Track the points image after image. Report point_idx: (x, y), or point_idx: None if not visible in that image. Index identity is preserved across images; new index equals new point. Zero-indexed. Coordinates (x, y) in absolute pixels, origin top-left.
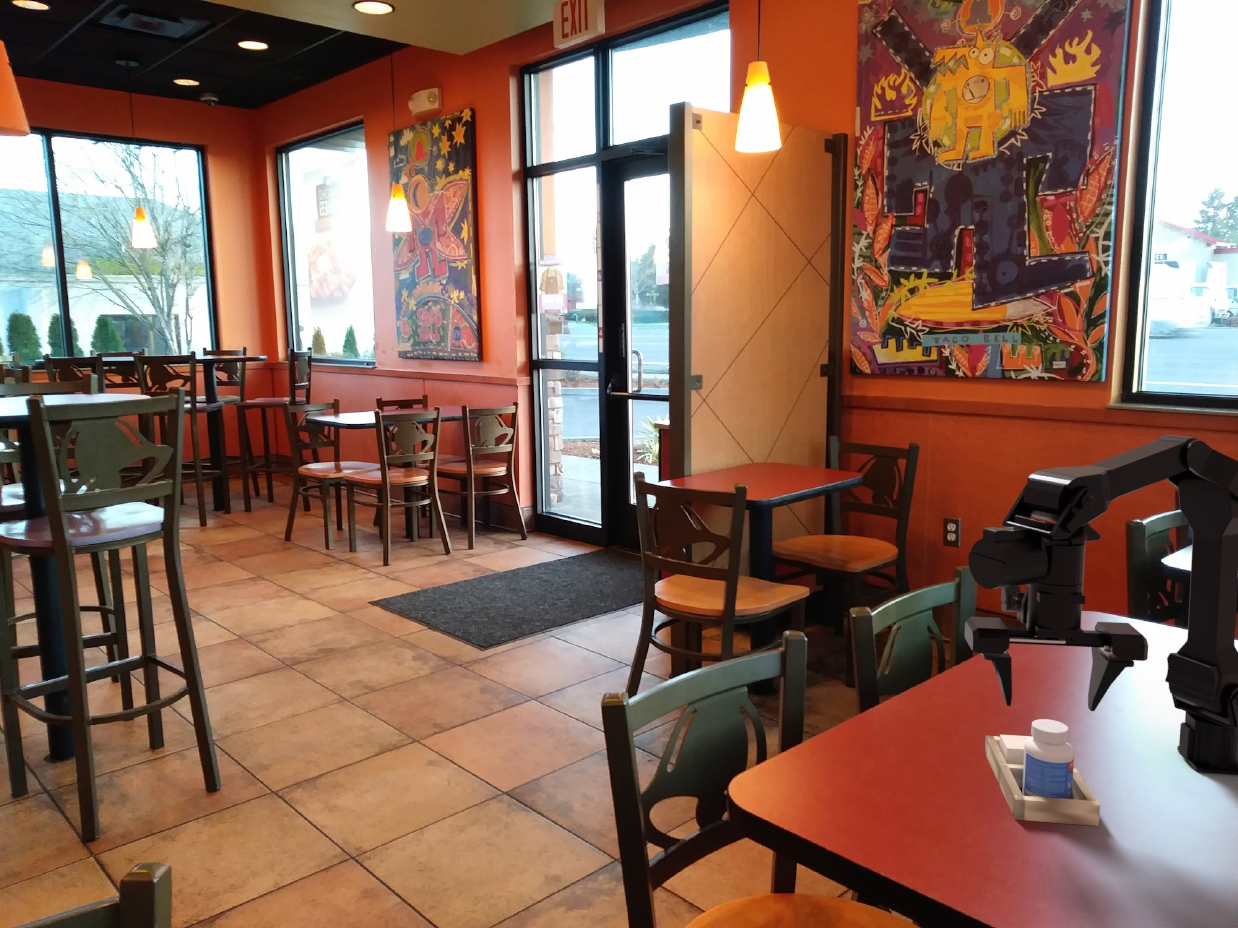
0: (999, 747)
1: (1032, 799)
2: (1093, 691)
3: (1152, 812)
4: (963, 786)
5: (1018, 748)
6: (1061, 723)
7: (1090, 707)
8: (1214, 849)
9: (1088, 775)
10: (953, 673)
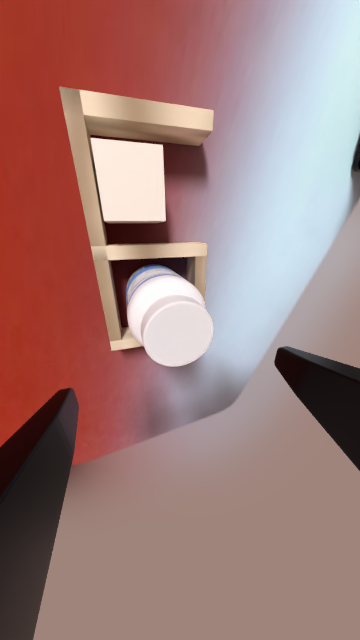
0: (97, 126)
1: (132, 344)
2: (321, 403)
3: (253, 286)
4: (42, 269)
5: (126, 219)
6: (206, 319)
7: (279, 366)
8: (268, 336)
9: (225, 199)
10: None
